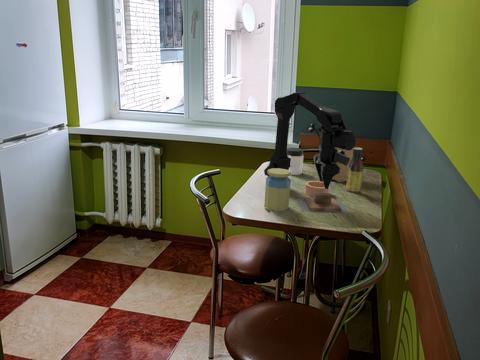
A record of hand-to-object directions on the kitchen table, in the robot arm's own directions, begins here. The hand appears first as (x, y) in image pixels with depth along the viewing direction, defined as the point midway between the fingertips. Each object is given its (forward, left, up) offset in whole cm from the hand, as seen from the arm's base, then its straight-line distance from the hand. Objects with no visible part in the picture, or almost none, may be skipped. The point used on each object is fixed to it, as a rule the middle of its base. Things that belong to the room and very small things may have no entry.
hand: (323, 185), depth 169 cm
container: (+16, +43, -10) cm, 47 cm away
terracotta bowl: (+1, +15, -9) cm, 18 cm away
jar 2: (-4, +50, -10) cm, 51 cm away
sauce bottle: (+18, +21, -10) cm, 29 cm away
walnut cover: (0, 0, -8) cm, 8 cm away
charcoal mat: (0, 0, -9) cm, 9 cm away
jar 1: (-18, -3, -10) cm, 21 cm away
